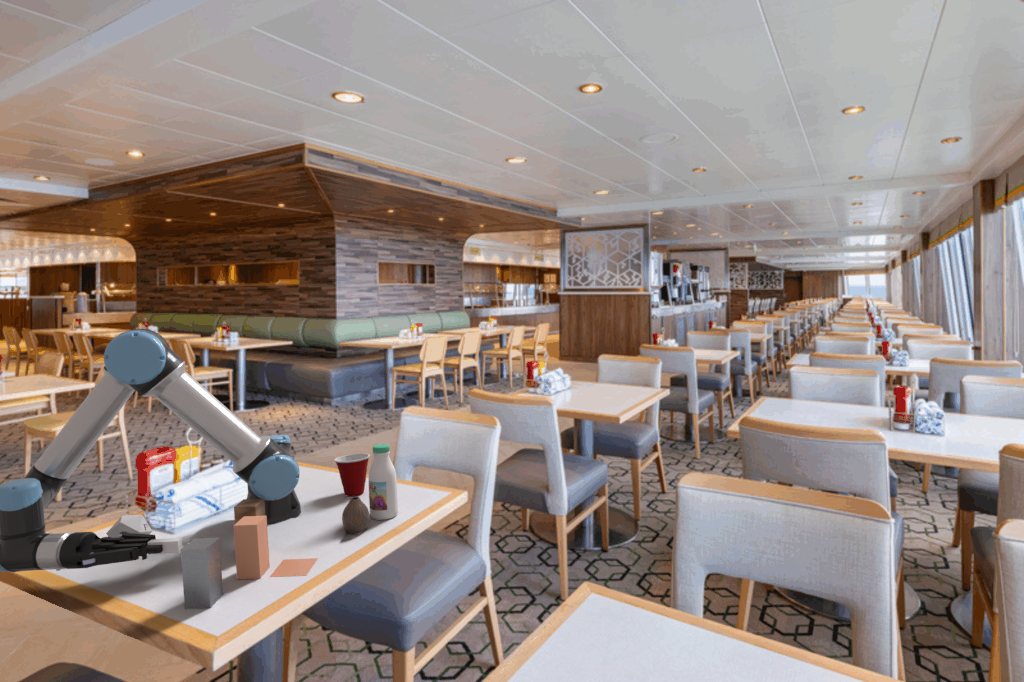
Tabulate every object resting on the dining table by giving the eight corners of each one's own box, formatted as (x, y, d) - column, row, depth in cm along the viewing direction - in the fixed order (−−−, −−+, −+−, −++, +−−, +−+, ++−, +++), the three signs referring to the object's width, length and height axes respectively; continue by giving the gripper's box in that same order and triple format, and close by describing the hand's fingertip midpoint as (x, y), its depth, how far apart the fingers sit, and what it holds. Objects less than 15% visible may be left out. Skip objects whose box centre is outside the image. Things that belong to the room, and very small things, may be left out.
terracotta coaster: (283, 562, 128) (283, 559, 128) (318, 561, 128) (318, 558, 128) (269, 580, 120) (269, 576, 120) (306, 578, 120) (306, 575, 120)
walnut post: (237, 556, 130) (233, 507, 129) (246, 547, 135) (243, 499, 134) (258, 555, 130) (255, 506, 129) (267, 546, 135) (264, 498, 134)
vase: (355, 538, 140) (353, 504, 140) (337, 532, 144) (335, 500, 143) (375, 528, 146) (374, 496, 146) (357, 523, 150) (355, 492, 149)
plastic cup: (361, 485, 181) (359, 449, 180) (378, 493, 173) (376, 455, 172) (330, 493, 174) (328, 456, 173) (345, 502, 166) (343, 463, 165)
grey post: (184, 608, 108) (180, 549, 107) (198, 595, 113) (194, 538, 112) (210, 607, 108) (206, 548, 108) (223, 594, 113) (219, 537, 113)
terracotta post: (237, 579, 119) (233, 525, 118) (247, 568, 124) (243, 516, 123) (260, 578, 120) (256, 524, 119) (269, 567, 125) (266, 515, 124)
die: (118, 560, 133) (145, 524, 135) (91, 541, 134) (118, 506, 137) (140, 557, 141) (165, 523, 143) (114, 539, 142) (139, 505, 144)
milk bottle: (388, 507, 161) (385, 440, 159) (403, 514, 155) (400, 445, 154) (364, 515, 155) (361, 446, 154) (379, 523, 150) (376, 450, 148)
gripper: (93, 553, 127) (197, 548, 128) (48, 582, 114) (163, 577, 115) (90, 521, 127) (194, 517, 127) (44, 547, 114) (160, 542, 114)
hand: (180, 545), depth 121 cm, fingers closed
